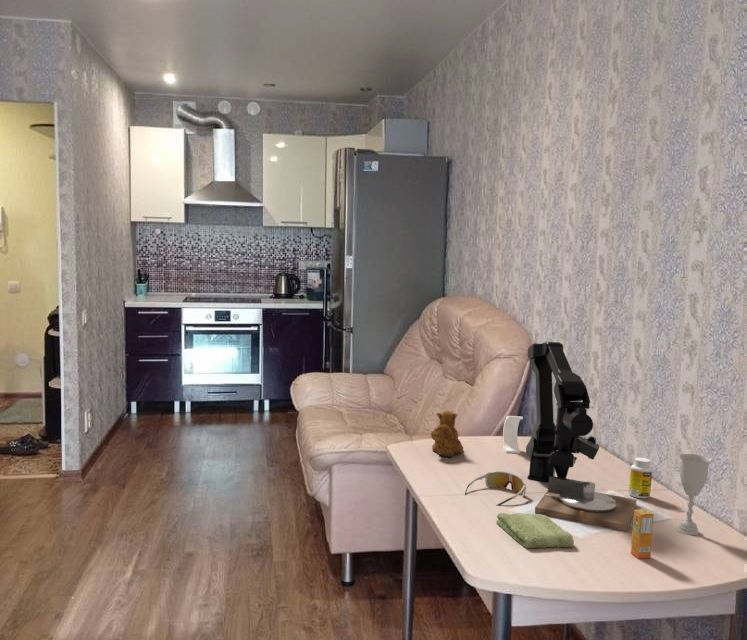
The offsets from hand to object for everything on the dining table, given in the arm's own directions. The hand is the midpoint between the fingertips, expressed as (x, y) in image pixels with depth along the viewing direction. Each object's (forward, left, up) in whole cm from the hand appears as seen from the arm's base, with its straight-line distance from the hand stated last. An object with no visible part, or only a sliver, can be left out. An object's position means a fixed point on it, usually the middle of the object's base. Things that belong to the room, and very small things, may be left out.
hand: (562, 484), depth 199 cm
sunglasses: (-16, -7, -4) cm, 18 cm away
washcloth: (-1, -30, -4) cm, 31 cm away
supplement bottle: (+18, +15, -4) cm, 24 cm away
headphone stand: (-24, +40, -4) cm, 47 cm away
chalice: (+31, -7, -4) cm, 32 cm away
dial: (+6, -5, -2) cm, 8 cm away
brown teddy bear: (-40, +24, -4) cm, 47 cm away
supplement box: (+22, -30, -4) cm, 38 cm away
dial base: (+7, -5, -4) cm, 10 cm away
